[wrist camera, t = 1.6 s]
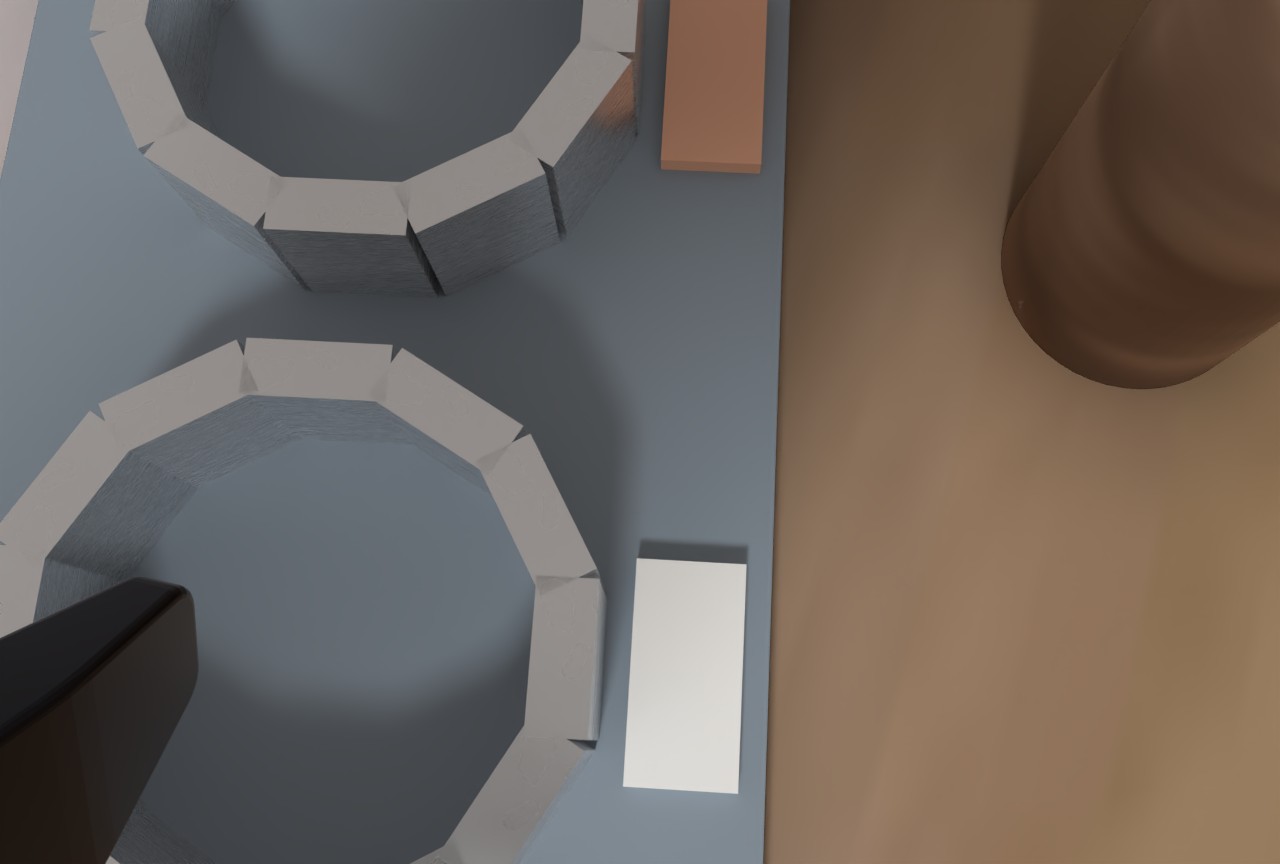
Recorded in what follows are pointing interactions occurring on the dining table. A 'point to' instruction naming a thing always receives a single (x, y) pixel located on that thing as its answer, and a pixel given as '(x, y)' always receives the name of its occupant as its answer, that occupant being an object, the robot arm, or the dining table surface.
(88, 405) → the socket board
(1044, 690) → the dining table surface
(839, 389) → the dining table surface
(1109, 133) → the walnut peg
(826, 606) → the dining table surface
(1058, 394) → the dining table surface
